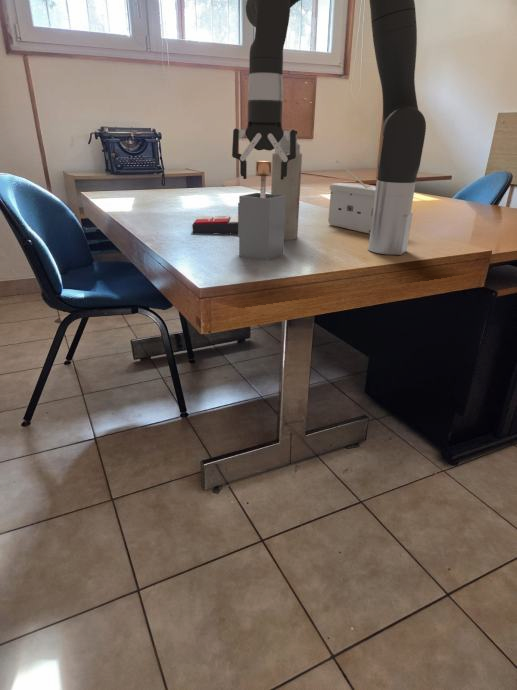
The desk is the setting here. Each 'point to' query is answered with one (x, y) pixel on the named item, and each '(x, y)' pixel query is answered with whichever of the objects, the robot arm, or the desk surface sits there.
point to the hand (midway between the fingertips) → (263, 179)
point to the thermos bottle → (288, 186)
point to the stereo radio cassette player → (351, 205)
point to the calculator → (216, 225)
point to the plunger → (263, 174)
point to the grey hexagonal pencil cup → (261, 225)
